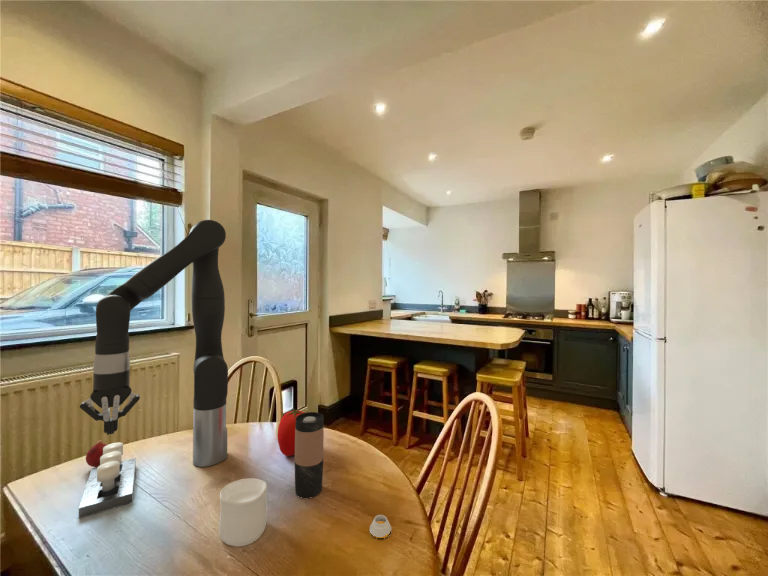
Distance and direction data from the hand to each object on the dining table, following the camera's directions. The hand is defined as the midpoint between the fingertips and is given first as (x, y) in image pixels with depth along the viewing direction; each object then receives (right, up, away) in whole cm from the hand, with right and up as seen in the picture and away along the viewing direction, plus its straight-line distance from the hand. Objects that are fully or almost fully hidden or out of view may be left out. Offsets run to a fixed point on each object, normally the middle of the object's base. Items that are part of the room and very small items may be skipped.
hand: (110, 433), depth 88 cm
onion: (-12, -15, +10) cm, 22 cm away
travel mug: (+53, -16, +1) cm, 56 cm away
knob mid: (0, -12, 0) cm, 12 cm away
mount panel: (0, -15, 0) cm, 15 cm away
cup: (+42, -16, -14) cm, 47 cm away
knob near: (+3, -12, -5) cm, 13 cm away
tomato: (+44, -16, +21) cm, 51 cm away
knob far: (-4, -12, +5) cm, 13 cm away
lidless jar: (+73, -17, -13) cm, 76 cm away
